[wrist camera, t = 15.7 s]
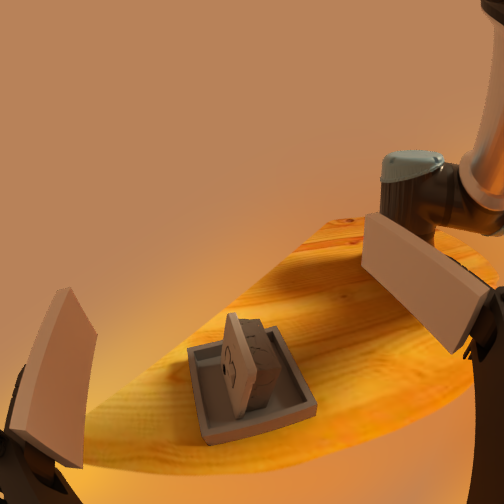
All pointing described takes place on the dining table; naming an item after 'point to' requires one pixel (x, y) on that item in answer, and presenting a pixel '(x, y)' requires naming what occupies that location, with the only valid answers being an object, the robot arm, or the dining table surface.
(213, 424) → the box
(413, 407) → the dining table surface
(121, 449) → the dining table surface
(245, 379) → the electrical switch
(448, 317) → the robot arm
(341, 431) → the dining table surface
